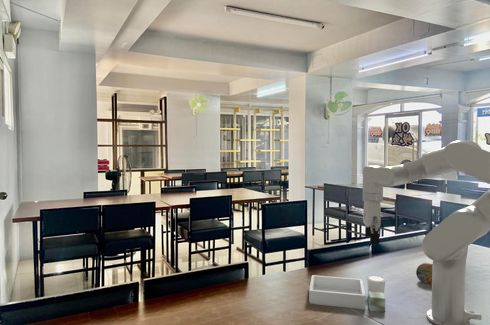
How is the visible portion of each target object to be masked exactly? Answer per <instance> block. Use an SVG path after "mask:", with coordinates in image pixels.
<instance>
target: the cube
mask: <svg viewBox="0 0 490 325" xmlns="http://www.w3.org/2000/svg"><path fill="white" fill-rule="evenodd" d="M368 307H369V311H371V312H378V313H379V312H380V313H386V298H385V293H384V294H383V293H380V292H369V295H368Z"/></svg>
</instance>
